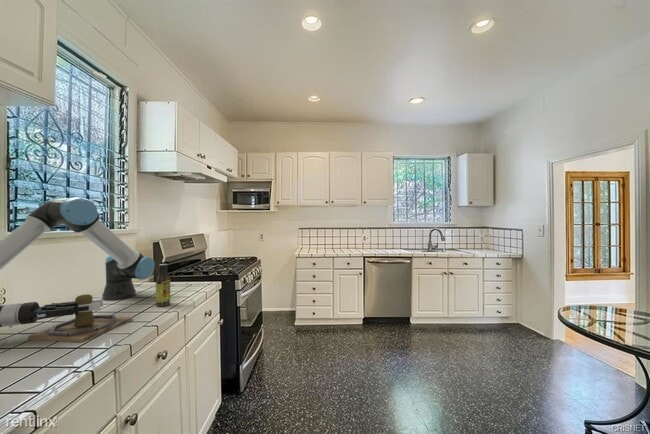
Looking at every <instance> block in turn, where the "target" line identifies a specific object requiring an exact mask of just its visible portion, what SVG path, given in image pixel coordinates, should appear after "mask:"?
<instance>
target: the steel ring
mask: <svg viewBox="0 0 650 434" xmlns="http://www.w3.org/2000/svg"><path fill="white" fill-rule="evenodd" d="M93 317H94V318H107V319H112V321H110V322H108V323H105V324H103V325H100V326H98V327H95V328H90V329H85V330H79V331H74V332H57V331H55V330H56V328H59V327H62V326H64V325H67V324H70V323H73V322H75V318H72V319H68V320H67V321H64V322H59V323H57V324H54V325H52V326H51V327H50V328H51V329H50V328H49V329H50V331H49V335H51V336H73V335H78V334H83V333H89V332H94V331H98V330H100V329H103V328H105V327H107V326H110V325H112V324H115V317H116V314H115V315H114V314H112V315H111V314H95V315H94V314H93Z"/></svg>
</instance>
